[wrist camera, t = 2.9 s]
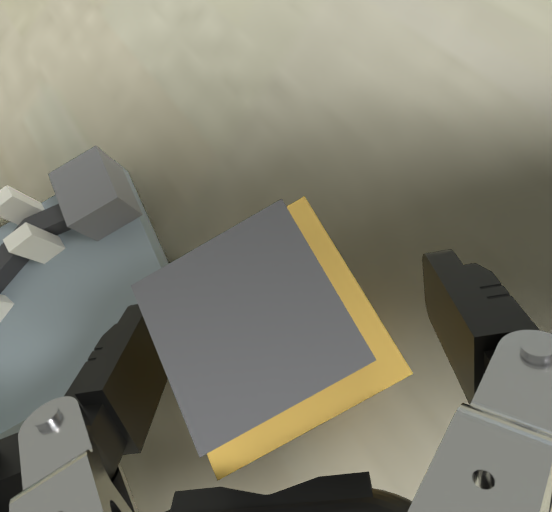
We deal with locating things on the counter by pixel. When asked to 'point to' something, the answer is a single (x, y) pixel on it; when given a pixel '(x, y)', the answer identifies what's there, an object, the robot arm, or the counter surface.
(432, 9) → the counter surface
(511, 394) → the robot arm
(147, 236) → the board
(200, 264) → the block
